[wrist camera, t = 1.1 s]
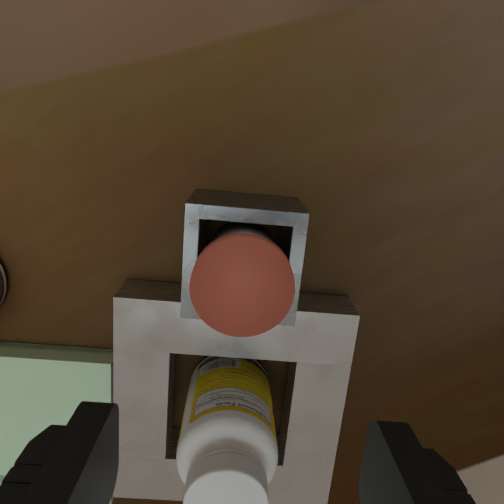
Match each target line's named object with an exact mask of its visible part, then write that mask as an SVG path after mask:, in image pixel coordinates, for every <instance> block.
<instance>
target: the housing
mask: <svg viewBox="0 0 504 504" xmlns="http://www.w3.org/2000/svg"><path fill="white" fill-rule="evenodd" d="M207 219H208V220H219V221H231V222H243V223H255V224H267V225H279V226H282V231H281V240H280V249H281V250H282V251H283V252H284V254H285V255H286V257H287V259H288V261H289V263H290V266H291V268H292V271H293V275H294V279H295V296H294V300H293V303H292V306H291V308H290V310H289V312H288V313H287V315H286V316H285V318H284V319H283V320H282V321H281V322H280V323H279V324H278V325H276V326H275V327H274V328H272V329H271V330H269V331H267V332H265V333H262V334H259V335H256V336H251V337H234V336H229V335H225V334H222V333H220V332H218V331H216V330H214V329H212V328H211V327H210V326H208V325H207V324H206V323H205V322H204V321H203V320H202V319H201V318H200V317H199V316H198V314H197V312H196V311H195V309H194V307H193V305H192V302H191V298H190V292H189V284H190V277H191V274H192V270H193V268H194V265H195V263H196V260H197V258H198V257H199V255H200V253H201V252H202V251H203V250H204V248H205V236H206V220H207ZM308 221H309V213H308V211H307V210H306V209H305V207H304V206H303V205H302V204H301V202H300V201H299V200H298V198H294V197H283V196H271V195H260V194H248V193H237V192H225V191H214V190H202V189H196V190H195V192H194V193H193V194H192V195H191V197H190V198H189V199H188V201H187V202H186V203H185V223H184V244H183V265H182V283H173V282H160V281H148V280H135V279H127V280H126V281H125V283H124V284H123V285H122V287H121V288H120V289H119V291H118V292H117V293H116V294H115V296H114V297H113V403H117V404H118V407H119V466H118V474H117V480H116V484H115V488H114V492H113V497H122V498H140V499H158V500H176V501H183V498H184V490H185V484H184V482H183V481H182V479H181V477H180V475H179V472H178V469H177V464H176V453H177V446H178V440H179V435H180V430H181V427H173V413H174V391H175V369H176V354H189V355H204V356H218V357H232V358H246V359H260V360H275V361H289V362H288V370H287V378H286V385H285V393H284V401H283V409H282V417H281V424H280V432H279V434H278V433H276V439H277V447H278V463H277V468H276V471H275V474H274V476H273V478H272V480H271V481H270V483H269V484H268V497H269V504H327V502H328V496H329V491H330V485H331V479H332V473H333V468H334V462H335V456H336V450H337V445H338V439H339V433H340V428H341V422H342V416H343V410H344V405H345V399H346V393H347V387H348V382H349V376H350V370H351V365H352V359H353V353H354V347H355V342H356V336H357V330H358V325H359V319H360V315H359V313H358V312H357V310H356V309H355V307H354V305H353V304H352V302H351V301H350V299H349V297H348V296H341V295H328V294H315V293H302V292H299V291H300V283H301V275H302V267H303V260H304V252H305V244H306V236H307V229H308Z"/></svg>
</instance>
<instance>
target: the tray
mask: <svg viewBox="0 0 504 504" xmlns="http://www.w3.org/2000/svg"><path fill="white" fill-rule="evenodd" d="M82 401H89V402H105V403H113V349H103V348H88V347H74V346H60V345H46V344H32V343H17V342H3V341H0V486H1V484H2V480H3V479H4V477H5V476H6V474H7V473H8V471H9V470H10V469H11V467H14V463H15V461H16V460H17V458H18V457H19V455H20V454H21V453H22V451H23V450H24V448H25V447H26V445H27V444H28V442H29V441H30V440H32V439H33V438H34V437H36V436H37V435H38V434H40V433H41V432H42V431H43V430H45V429H46V428H47V427H49V426H50V425H67V423H68V422H69V420H70V418H71V417H72V415H73V413H74V412H75V410H76V408H77V407H78V405H79V404H80V403H81V402H82ZM113 499H114V497H113V495H112V498H111V500H110V503H109V504H112V501H113Z"/></svg>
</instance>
